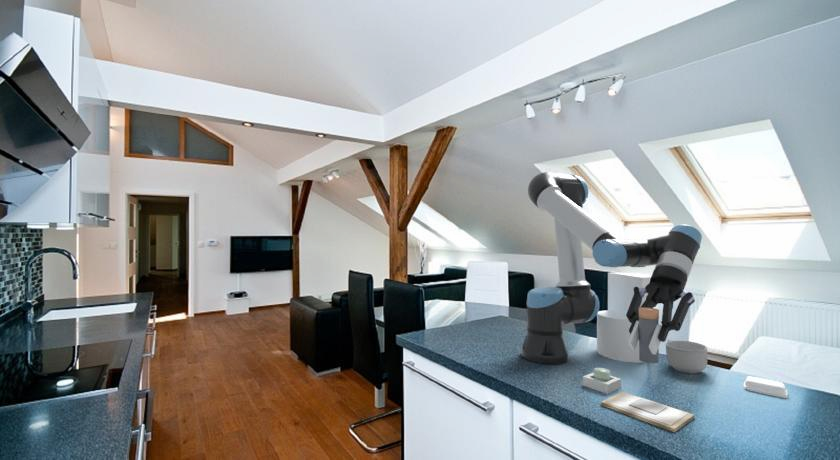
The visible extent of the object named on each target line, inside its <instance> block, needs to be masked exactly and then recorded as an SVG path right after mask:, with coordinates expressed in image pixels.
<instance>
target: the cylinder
mask: <svg viewBox="0 0 840 460" xmlns="http://www.w3.org/2000/svg"><path fill="white" fill-rule="evenodd" d="M651 276H652V275H650V274H643V273H635V272H634V273H631V272H607V310H599V311H598V313H597V315H596V352H597V354H598V353H599V354H598V355H600V354H601V355H600V356H602V355H603V356H602V357H604V356H605V358H606V357H608V358H607V359H610V358H611V360H613V359H614V361H618V360H619V361H620V362H624V363H626V362H627V363H639V364H641V363H644V362H643V361H641V360H639V340H638V343H637V345H636V348H635V350H633V349H631V348H630V346H629V344H628V340H629V338H630V335H631V334H630V332H629V329H630V326H631V324H632V323H630V322H629V320H628V318H627V316H626V314H627V311H628V309H629V306H630V303H631V301H632V298H633V295H634V287H638V288H639V289H640V288H645V287H646V286H647V285H648V284H649V283H650V279H651ZM647 295H648V293H645V295H644V297H643V298H642V302H641V305H640V307H641V306H642V304H643V303H644V302H645V300H646V297H647ZM640 307H639V308H640Z"/></svg>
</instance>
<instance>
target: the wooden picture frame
mask: <svg viewBox="0 0 840 460" xmlns="http://www.w3.org/2000/svg"><path fill="white" fill-rule="evenodd" d="M600 406H602V407H605V408H608V409H610V410H613V411H616V412H618V413H621V414H623V415H626V416H629V417H631V418H634V419H637V420H639V421H642V422H646V423H647V424H650V425H653V426H656V427H659V428H661V429H664V430H667V431H669V432H673V433H676V432H678V430H680V429H682V428H683V427H685V426H686V425H687V424H689V423H690V422H692V421H693V420H695V414H694V413H690V412H687V411H684V410H681V409H678V408H675V407H671V406H668V405H666V404H663V403H659V402H656V401H653V400H651V399H647V398H644V397H642V396H638V395H634V394H632V393H629V392H626V391H621V392H619V393H617V394H614V395H612V396H610V397H608V398H606V399H604V400H602V401H600Z"/></svg>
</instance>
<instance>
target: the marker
mask: <svg viewBox="0 0 840 460" xmlns="http://www.w3.org/2000/svg"><path fill="white" fill-rule="evenodd" d="M659 320H660V309H658V308H656V307H653V308H645V307H642V308H639V360H641V361H643V363H647V364H658V363H659V361H660V350H659V348H660V347H659V348H658V350H657V353H656V355H654V354H652V353H651V351H650V349H649V344H650V342H651V339H652V336H653V334H654V331H655V329H656V326H657V324H659V322H660V321H659Z"/></svg>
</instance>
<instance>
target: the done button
mask: <svg viewBox="0 0 840 460" xmlns="http://www.w3.org/2000/svg"><path fill="white" fill-rule="evenodd" d="M593 372H594V378H595V379H598V380H601V381H604V382H607V381H609V380H610V376H611V370H609V369H607V368H603V367H595V368H593Z"/></svg>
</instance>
